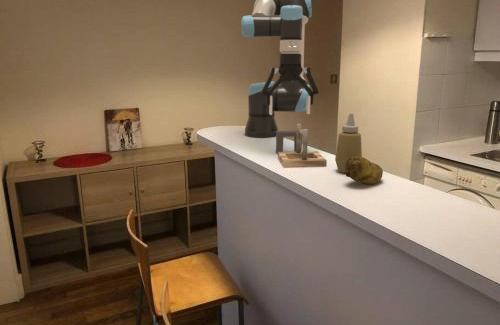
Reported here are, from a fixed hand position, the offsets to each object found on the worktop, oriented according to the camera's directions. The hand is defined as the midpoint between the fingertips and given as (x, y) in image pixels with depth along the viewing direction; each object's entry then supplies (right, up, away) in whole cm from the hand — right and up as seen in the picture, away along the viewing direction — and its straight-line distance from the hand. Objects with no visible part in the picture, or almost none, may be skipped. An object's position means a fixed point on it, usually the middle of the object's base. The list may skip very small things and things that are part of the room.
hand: (289, 114), depth 149 cm
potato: (+18, -23, -31) cm, 43 cm away
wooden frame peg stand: (+3, -17, -8) cm, 19 cm away
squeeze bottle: (+16, -20, -20) cm, 33 cm away
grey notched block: (0, -14, +4) cm, 14 cm away
